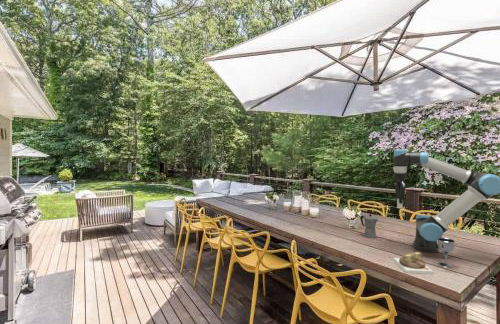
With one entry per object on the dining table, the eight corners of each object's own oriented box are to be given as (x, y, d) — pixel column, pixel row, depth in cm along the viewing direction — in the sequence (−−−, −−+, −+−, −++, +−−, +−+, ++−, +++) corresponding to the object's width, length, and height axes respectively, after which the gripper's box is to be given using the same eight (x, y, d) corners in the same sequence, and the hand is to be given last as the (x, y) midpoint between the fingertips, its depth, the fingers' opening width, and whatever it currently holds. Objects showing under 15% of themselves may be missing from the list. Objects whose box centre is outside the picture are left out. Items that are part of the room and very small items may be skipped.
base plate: (417, 261, 167) (417, 257, 167) (433, 274, 149) (433, 270, 149) (393, 260, 168) (393, 256, 168) (406, 272, 151) (406, 269, 151)
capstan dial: (409, 257, 167) (409, 248, 167) (431, 265, 156) (431, 255, 155) (393, 261, 162) (393, 251, 161) (415, 270, 150) (415, 259, 150)
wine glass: (442, 267, 157) (442, 241, 157) (435, 262, 165) (435, 237, 164) (457, 268, 156) (457, 242, 155) (449, 262, 164) (449, 238, 163)
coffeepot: (381, 237, 213) (381, 214, 212) (374, 239, 208) (374, 216, 207) (363, 232, 226) (363, 211, 225) (356, 234, 220) (356, 212, 220)
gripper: (390, 172, 188) (390, 206, 189) (398, 173, 175) (397, 210, 176) (401, 172, 187) (401, 206, 188) (410, 173, 174) (410, 210, 175)
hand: (399, 208), depth 182 cm, fingers closed
